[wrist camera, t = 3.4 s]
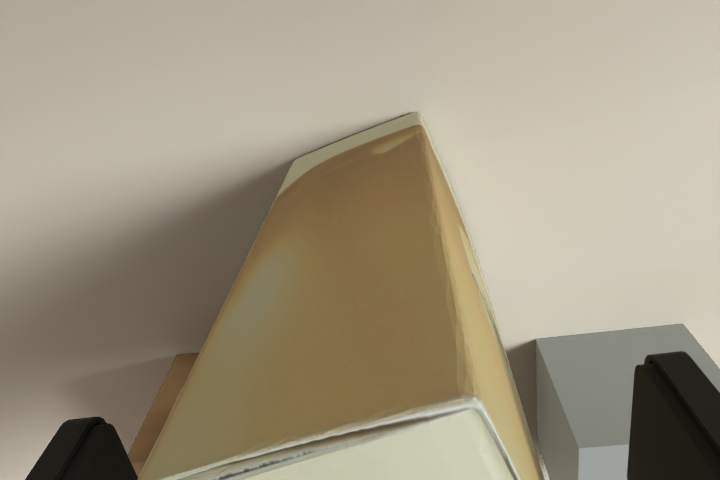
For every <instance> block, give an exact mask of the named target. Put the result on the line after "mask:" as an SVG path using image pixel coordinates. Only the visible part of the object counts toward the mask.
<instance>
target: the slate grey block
mask: <svg viewBox="0 0 720 480" xmlns="http://www.w3.org/2000/svg"><path fill="white" fill-rule="evenodd" d="M678 351H684V352H686V353H687V354H688V355H689V356H690V357H691V358H692V359H693V360H694V362H695V363H696V364H697V365H698V367H699V368H700V369H701V370H702V371H703V373H704V374H705V375H706V376H707V378H708V379H709V380H710V381H711V383H712V384H713V385H714V386H715V387H716V389H717V390H718V391H719V392H720V369H719V368H718V366H717V365H716V364H715V363H714V361H713V360H712V359H711V358H710V356H709V355H708V354H707V353H706V352H705V350H704V349H703V348H702V347H701V345H700V344H699V343H698V342H697V340H696V339H695V338H694V337H693V335H692V334H691V333H690V332H689V331H688V329H687V328H686V327H685V326H684V324H674V325H664V326H655V327H645V328H636V329H626V330H616V331H607V332H597V333H588V334H578V335H569V336H559V337H549V338H540V339H536V390H537V440H538V444H539V447H540V450H541V453H542V456H543V459H544V462H545V466H546V469H547V472H548V475H549V478H550V480H627V467H628V454H629V440H630V426H631V412H632V399H633V385H634V371H635V367H636V366H637V365H641V364H644V361H645V358H646V356H647V355H651V354H660V353H669V352H678Z"/></svg>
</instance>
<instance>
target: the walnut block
mask: <svg viewBox="0 0 720 480" xmlns="http://www.w3.org/2000/svg"><path fill="white" fill-rule="evenodd" d="M199 353H200V352H199ZM199 353H189V354H180V355H177V356H176V358H175V360H174V362H173V364H172V366H171V368H170V370H169V373H168V375H167V377H166V379H165V381H164V383H163V385H162V387H161V389H160V391H159V393H158V395H157V397H156V399H155V401H154V403H153V405H152V407H151V409H150V411H149V413H148V415H147V417H146V419H145V421H144V423H143V425H142V427H141V429H140V431H139V433H138V435H137V437H136V439H135V441H134V443H133V445H132V447H131V449H130V451H129V453H128V457H129V459H130V462H131V464H132V466H133V468H134V470H135V472H136V474H137V476H138V478H139V476H140V473H141V471H142V469H143V467H144V465H145V463H146V461H147V459H148V457H149V455H150V453H151V451H152V449H153V447H154V445H155V443H156V441H157V439H158V437H159V435H160V433H161V431H162V429H163V427H164V425H165V423H166V421H167V419H168V417H169V414H170V412H171V410H172V408H173V406H174V404H175V402H176V400H177V397H178V396H179V394H180V392H181V390H182V388H183V387H184V385H185V383H186V381H187V379H188V376H189V374H190V372H191V370H192V368H193V366H194V364H195V362H196V360H197V358H198V355H199Z"/></svg>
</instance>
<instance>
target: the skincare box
mask: <svg viewBox="0 0 720 480" xmlns="http://www.w3.org/2000/svg"><path fill="white" fill-rule="evenodd" d="M138 480H544V476H543V473H542V470H541V467H540V463H539V460H538V457H537V453H536V450H535V447H534V443H533V440H532V437H531V434H530V430H529V427H528V424H527V420H526V417H525V414H524V410H523V407H522V404H521V400H520V397H519V394H518V391H517V387H516V384H515V381H514V377H513V374H512V371H511V368H510V364H509V361H508V358H507V355H506V351H505V348H504V345H503V342H502V338H501V335H500V331H499V328H498V325H497V321H496V318H495V315H494V311H493V308H492V304H491V301H490V297H489V294H488V290H487V287H486V284H485V281H484V277H483V274H482V271H481V268H480V265H479V262H478V259H477V256H476V253H475V250H474V247H473V244H472V241H471V238H470V235H469V232H468V230H467V227H466V224H465V221H464V219H463V216H462V213H461V211H460V208H459V205H458V202H457V200H456V197H455V194H454V192H453V189H452V187H451V184H450V182H449V180H448V177H447V175H446V173H445V170H444V168H443V165H442V163H441V161H440V158H439V156H438V154H437V151H436V149H435V147H434V144H433V142H432V139H431V137H430V135H429V132H428V130H427V128H426V125H425V123H424V120H423V118H422V116H421V114H420V113H419V112H413V113H411V114H408V115H405V116H403V117H400V118H397V119H395V120H392V121H389V122H386V123H384V124H381V125H378V126H376V127H373V128H371V129H368V130H365V131H363V132H360V133H358V134H355V135H353V136H350V137H348V138H345V139H343V140H340V141H338V142H335V143H333V144H330V145H328V146H326V147H323V148H321V149H318V150H316V151H313V152H311V153H309V154H306V155H304V156H302V157H300V158H297V159H296V160H295V161H294V162H293V163H292V165H291V167H290V169H289V171H288V173H287V175H286V177H285V179H284V181H283V184H282V186H281V188H280V190H279V192H278V194H277V196H276V198H275V200H274V201H273V204H272V206H271V208H270V210H269V212H268V214H267V216H266V218H265V220H264V223H263V225H262V227H261V229H260V231H259V233H258V235H257V237H256V239H255V241H254V243H253V245H252V247H251V249H250V251H249V253H248V255H247V257H246V259H245V261H244V263H243V265H242V268H241V270H240V272H239V274H238V276H237V278H236V280H235V282H234V284H233V286H232V288H231V290H230V292H229V294H228V296H227V298H226V300H225V302H224V304H223V306H222V308H221V310H220V312H219V314H218V317H217V319H216V321H215V323H214V325H213V327H212V329H211V331H210V333H209V335H208V337H207V339H206V341H205V343H204V345H203V347H202V349H201V351H200V353H199V355H198V358H197V360H196V362H195V364H194V366H193V368H192V370H191V372H190V374H189V376H188V379H187V381H186V383H185V385H184V387H183V388H182V390H181V392H180V394H179V396H178V397H177V400H176V402H175V404H174V406H173V408H172V410H171V412H170V414H169V417H168V419H167V421H166V423H165V425H164V427H163V429H162V431H161V433H160V435H159V437H158V439H157V441H156V443H155V445H154V447H153V449H152V451H151V453H150V455H149V457H148V459H147V461H146V463H145V465H144V467H143V469H142V471H141V473H140V476H139V478H138Z"/></svg>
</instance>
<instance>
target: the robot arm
mask: <svg viewBox="0 0 720 480" xmlns="http://www.w3.org/2000/svg"><path fill="white" fill-rule="evenodd" d="M25 480H138V476H137V474H136V472H135V470H134V468H133V466H132V464H131V462H130V459H129V457H128V455H127V453H126V451H125V449H124V447H123V445H122V442H121V440H120V438H119V436H118V434H117V432H116V430H115V428H114V426H113V425H111V424H107V423H106V422H105V420H104V419H103V418H101V417H90V418H81V419H72V420H68V421H66V422H64V423H63V424H62V425H61V427H60V428H59V430H58V431H57V433H56V434H55V436H54V437H53V439H52V440H51V442H50V443H49V445H48V446H47V448H46V449H45V451H44V452H43V454H42V455H41V457H40V458H39V460H38V461H37V463H36V464H35V466H34V467H33V469H32V470H31V472H30V473H29V475H28V476H27V478H26V479H25ZM627 480H720V392H719V391H718V390H717V389H716V387H715V386H714V385H713V384H712V383H711V381H710V380H709V379H708V378H707V376H706V375H705V374H704V373H703V371H702V370H701V369H700V368H699V367H698V365H697V364H696V363H695V362H694V360H693V359H692V358H691V357H690V356H689V355H688V354H687V353H686V352H684V351H678V352H669V353H660V354H651V355H647V356H646V358H645V361H644V364H641V365H637V366H636V367H635V371H634V385H633V399H632V412H631V426H630V440H629V454H628V467H627Z"/></svg>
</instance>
